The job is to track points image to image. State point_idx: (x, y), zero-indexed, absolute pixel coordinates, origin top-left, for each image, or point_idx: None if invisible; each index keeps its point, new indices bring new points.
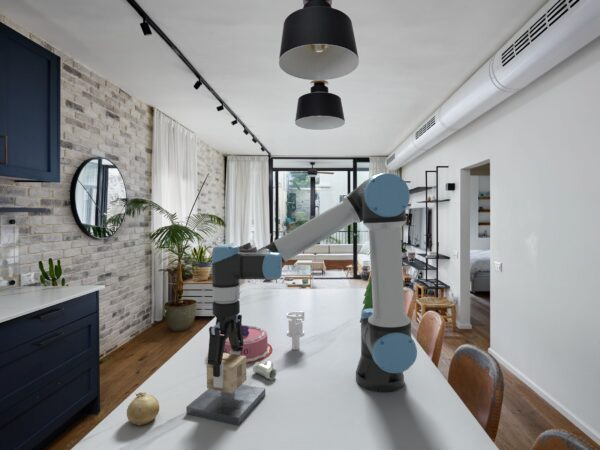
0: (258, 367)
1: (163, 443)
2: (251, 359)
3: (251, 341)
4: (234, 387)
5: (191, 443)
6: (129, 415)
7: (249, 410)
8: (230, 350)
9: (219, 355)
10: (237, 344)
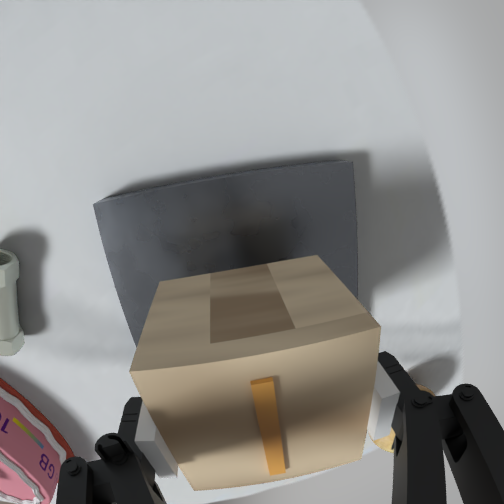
0: (7, 331)
1: (455, 296)
2: None
3: None
4: (300, 265)
5: (446, 237)
6: None
7: (255, 170)
8: (31, 454)
9: (439, 444)
10: (149, 498)
